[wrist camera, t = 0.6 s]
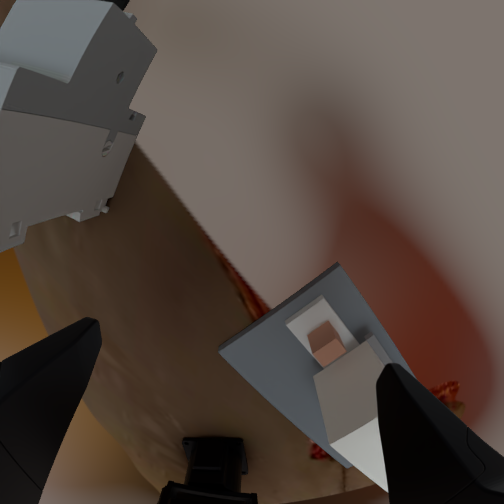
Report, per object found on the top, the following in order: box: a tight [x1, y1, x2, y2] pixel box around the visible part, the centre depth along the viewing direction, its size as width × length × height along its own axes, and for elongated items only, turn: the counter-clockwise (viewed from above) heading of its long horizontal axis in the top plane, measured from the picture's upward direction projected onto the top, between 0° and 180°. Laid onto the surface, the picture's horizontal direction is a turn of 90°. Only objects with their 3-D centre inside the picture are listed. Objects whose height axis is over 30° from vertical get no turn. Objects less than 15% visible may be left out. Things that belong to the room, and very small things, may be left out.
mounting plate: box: [218, 262, 416, 468], centre depth 25 cm, size 12×22×5 cm, turn 39°
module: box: [313, 332, 393, 492], centre depth 21 cm, size 6×12×8 cm, turn 39°
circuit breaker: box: [0, 0, 157, 252], centre depth 15 cm, size 8×14×15 cm, turn 154°
